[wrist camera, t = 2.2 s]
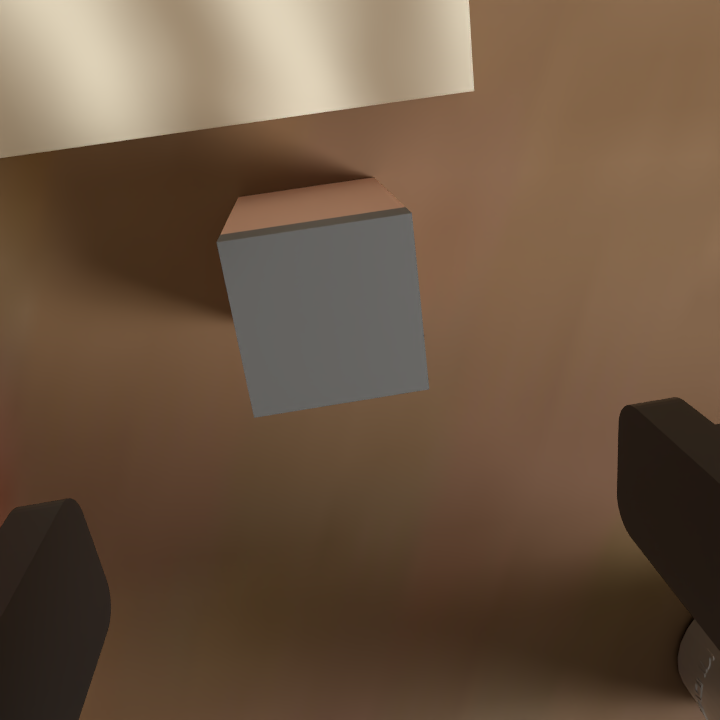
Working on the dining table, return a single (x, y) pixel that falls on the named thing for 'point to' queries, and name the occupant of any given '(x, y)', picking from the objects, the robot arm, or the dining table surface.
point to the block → (324, 295)
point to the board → (214, 63)
